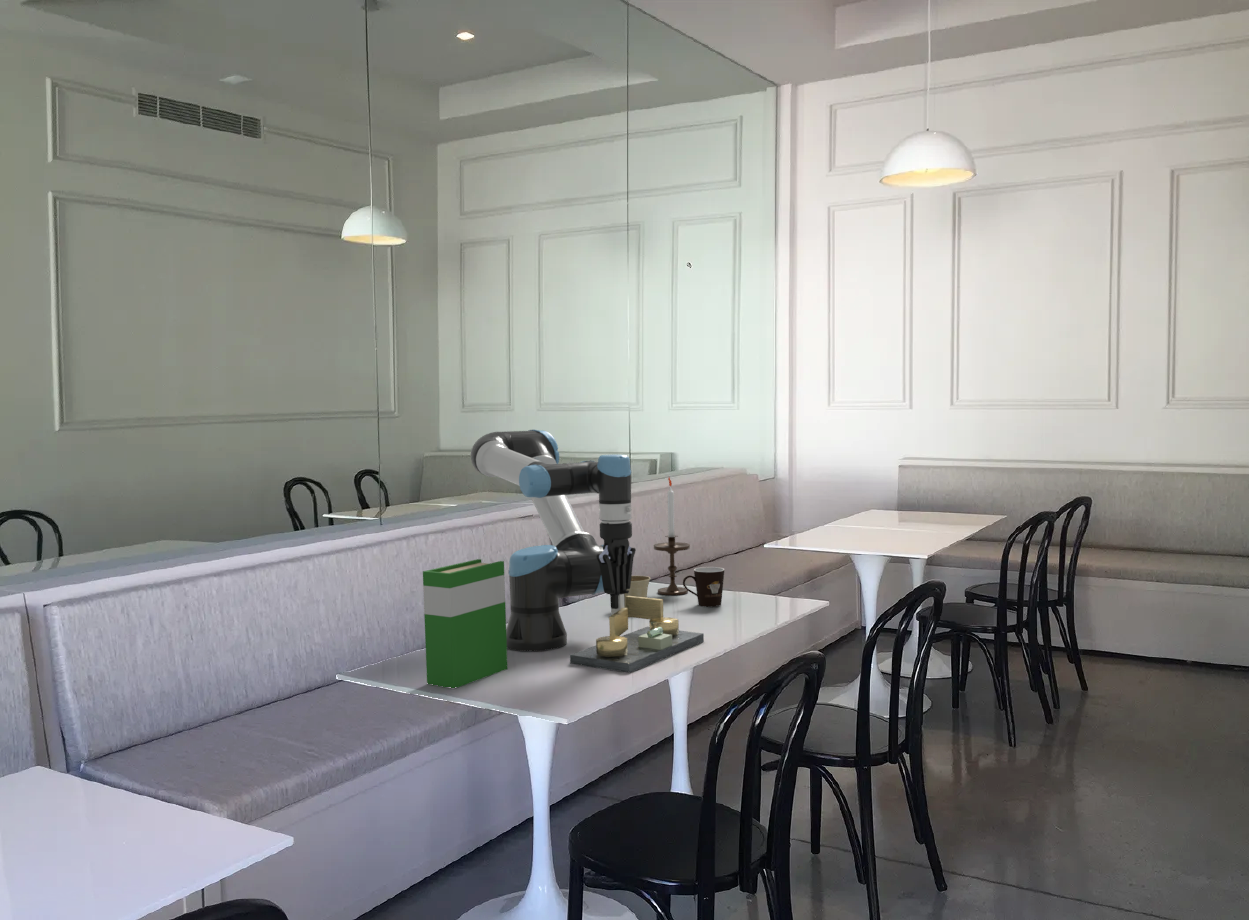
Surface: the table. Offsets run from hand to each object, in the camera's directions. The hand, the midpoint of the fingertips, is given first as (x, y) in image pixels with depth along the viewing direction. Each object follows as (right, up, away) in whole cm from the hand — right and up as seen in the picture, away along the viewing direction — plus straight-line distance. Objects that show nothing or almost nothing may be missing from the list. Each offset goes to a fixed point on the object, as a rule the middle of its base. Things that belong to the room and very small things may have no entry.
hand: (618, 621), depth 246 cm
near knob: (0, -5, -7) cm, 9 cm away
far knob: (+8, -4, +9) cm, 13 cm away
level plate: (+5, -7, -2) cm, 9 cm away
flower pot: (+4, -4, +48) cm, 48 cm away
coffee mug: (+24, -3, +51) cm, 56 cm away
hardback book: (-32, -9, -19) cm, 38 cm away
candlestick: (+16, -2, +70) cm, 72 cm away
